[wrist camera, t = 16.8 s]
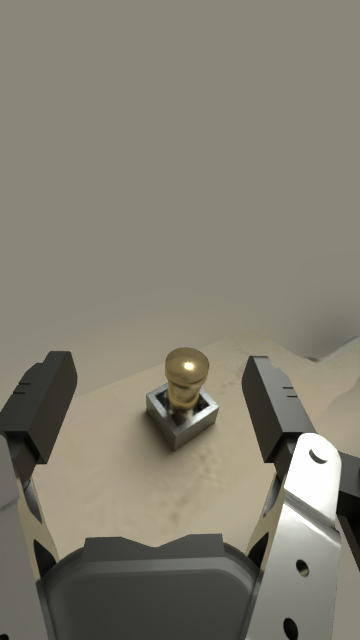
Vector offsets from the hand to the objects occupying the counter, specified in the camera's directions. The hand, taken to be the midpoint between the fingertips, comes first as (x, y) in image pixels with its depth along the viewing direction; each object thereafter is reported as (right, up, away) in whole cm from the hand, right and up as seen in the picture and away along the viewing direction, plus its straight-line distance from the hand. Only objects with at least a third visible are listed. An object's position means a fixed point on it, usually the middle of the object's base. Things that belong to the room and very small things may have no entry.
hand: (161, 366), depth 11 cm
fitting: (+1, -14, +30) cm, 34 cm away
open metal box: (+1, -15, +31) cm, 34 cm away
